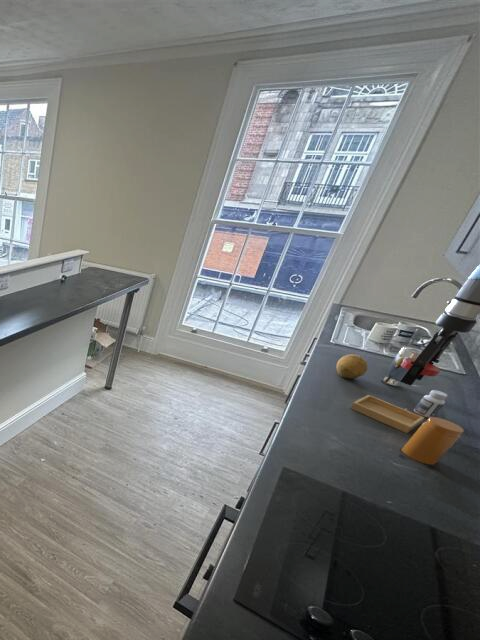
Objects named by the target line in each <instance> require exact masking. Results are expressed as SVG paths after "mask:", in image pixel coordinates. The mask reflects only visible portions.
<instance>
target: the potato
mask: <svg viewBox="0 0 480 640" xmlns="http://www.w3.org/2000/svg"><path fill="white" fill-rule="evenodd" d="M335 366H336V371H337V373H338V375H339V376H341V377H342V378H344V379H356V378H359V377H362V376H364V375H365V373H366V372H367V371H368V369H369V368H368V364H367V361H366V360H365V359H364V358H363V357H362V356H361V355H358V354H352V353H351V354H346V355H343V356H342V357H340V358H339V359H338V361H337V362H336V365H335Z"/></svg>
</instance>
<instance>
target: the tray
mask: <svg viewBox="0 0 480 640" xmlns="http://www.w3.org/2000/svg"><path fill="white" fill-rule="evenodd" d="M349 409H351V410H353V411H356V412H358V413H359V414H362V415H364V416H367V417H369V418H371V419H374V420H376V421H378V422H380V423H382V424H384V425H386V426H389V427H392V428H394V429H396V430H398V431H401V432H403V433H405V434H408V433H409V432H410V431H412V430H413V429H415V428H416V427H417V426H419V425H420V424H421V423H422V422H424V420H425V417H424V416H421V415H419V414H417V413H415V412H413V411H409V410H407V409H404V408H403V407H400V406H397V405H395V404H392V403H390V402H387V401H385V400H384V399H383V400H382V399H380V398H378V397H376V396H373V395H371V394H367V395H365V396H363V397H362V398H359V399H357V400H356V401H354V402H352V404H351V405H350V406H349Z"/></svg>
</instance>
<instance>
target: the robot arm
mask: <svg viewBox="0 0 480 640" xmlns="http://www.w3.org/2000/svg"><path fill="white" fill-rule="evenodd" d="M446 304H447V307H446V308H445V309H444V311H445V312H442V313H441V314H440V316H439V317H438V318H437V319H436V321H435V325H436V326H438V327H440V328H442V329H441V330H438V331H436V332H435V333H434V334H433V336H432V338H431V339H430V341H429V342H428V343H427V345H426V346H424V348H423V350H422V352H421V354H420V355H419V356H418V357H417V359H416V360H415V361H414V362H413V361H411V364H413V365H412V366H411V368H410V369H409V370H408V372H407V373H406V374H405V376H404V377H403V378H402V380H401V381H400V382H402V383H403V384H406V385H408V386H412V385H413V384H414V383H415V381H417V380H418V381H421V380H423V378H424V377H425V375H421V372H422V371H423V370H424V369H425V366H426V365H427V363H430V364H432V365H434V364H438V363H439V362H440V357H441V356H442V354H443V353H444V352H445V350H446V349H447V348H448V347H449V346H450V345H451V343H452V342H453V341H454V340H456V338H457V336H458V335H459V333H469V332H471V331H472V329H473V328H474V327H475V326H476V324H478V321H477V320H480V264H478V266H477V267H476V268H475V269H474V271H472V272H471V273H470V275H469V276H468V277H467V279H466V280H465V282H464V283H463V285H462V286H461V288H460V289H459V291H458V292H457V293H456V294H455V296H454V297H453V299H452V300H448V301H447V302H446ZM420 361H421V362H420Z"/></svg>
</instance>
